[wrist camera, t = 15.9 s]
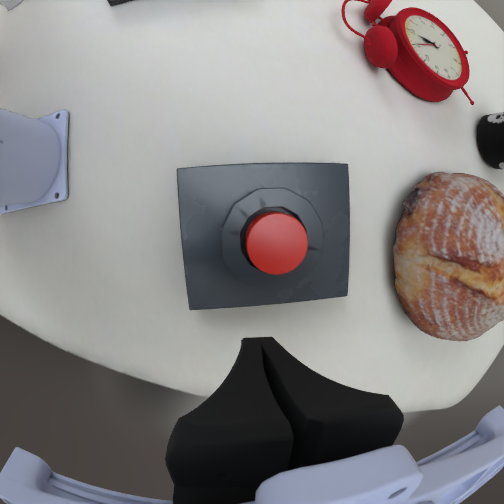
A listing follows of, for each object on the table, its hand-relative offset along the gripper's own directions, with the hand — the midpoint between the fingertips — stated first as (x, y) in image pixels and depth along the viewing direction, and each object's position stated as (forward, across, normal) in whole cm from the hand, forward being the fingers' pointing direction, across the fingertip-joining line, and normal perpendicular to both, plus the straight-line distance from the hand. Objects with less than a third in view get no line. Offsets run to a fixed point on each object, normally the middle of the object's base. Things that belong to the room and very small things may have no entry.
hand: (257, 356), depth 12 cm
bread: (+11, -22, -2) cm, 24 cm away
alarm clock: (+11, -16, -23) cm, 30 cm away
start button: (+7, -2, -4) cm, 8 cm away
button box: (+10, -2, -4) cm, 11 cm away
